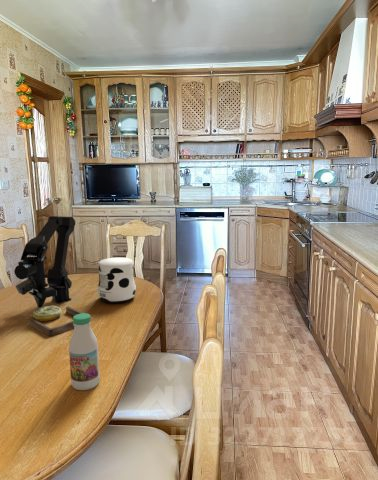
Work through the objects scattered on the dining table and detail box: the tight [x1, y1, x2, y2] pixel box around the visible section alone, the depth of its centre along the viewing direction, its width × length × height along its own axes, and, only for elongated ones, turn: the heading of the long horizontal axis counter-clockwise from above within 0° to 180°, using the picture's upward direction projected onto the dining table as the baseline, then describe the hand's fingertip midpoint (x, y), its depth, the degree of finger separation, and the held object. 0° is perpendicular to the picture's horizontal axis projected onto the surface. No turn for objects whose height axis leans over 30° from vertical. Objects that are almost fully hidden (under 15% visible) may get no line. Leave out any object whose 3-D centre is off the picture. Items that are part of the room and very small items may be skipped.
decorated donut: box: [32, 305, 63, 322], centre depth 148 cm, size 10×11×4 cm
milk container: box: [97, 257, 137, 304], centre depth 167 cm, size 17×17×18 cm
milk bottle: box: [68, 312, 101, 391], centre depth 100 cm, size 8×8×20 cm
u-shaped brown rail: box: [28, 305, 83, 338], centre depth 142 cm, size 17×16×2 cm
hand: (40, 308), depth 151 cm, fingers closed
